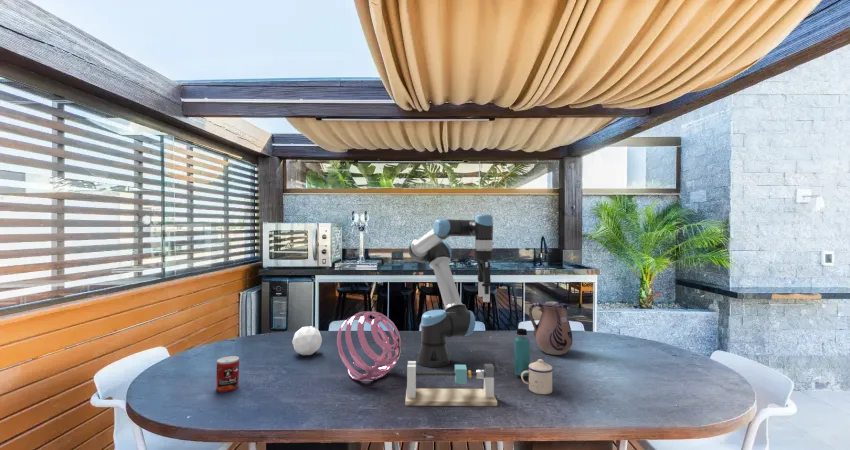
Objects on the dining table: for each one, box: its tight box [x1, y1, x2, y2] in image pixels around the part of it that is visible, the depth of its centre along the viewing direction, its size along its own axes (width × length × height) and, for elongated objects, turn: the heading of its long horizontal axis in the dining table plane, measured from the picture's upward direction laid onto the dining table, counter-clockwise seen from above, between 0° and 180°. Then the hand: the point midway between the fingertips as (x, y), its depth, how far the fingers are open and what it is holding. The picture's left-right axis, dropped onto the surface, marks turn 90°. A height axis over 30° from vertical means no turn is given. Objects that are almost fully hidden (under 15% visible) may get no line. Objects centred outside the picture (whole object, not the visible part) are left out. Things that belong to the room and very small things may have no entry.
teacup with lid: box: [520, 358, 554, 395], centre depth 146 cm, size 12×9×12 cm
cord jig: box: [404, 360, 498, 407], centre depth 137 cm, size 32×11×12 cm, turn 90°
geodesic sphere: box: [291, 325, 323, 356], centre depth 188 cm, size 15×14×14 cm
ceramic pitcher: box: [528, 301, 573, 356], centre depth 193 cm, size 18×21×25 cm
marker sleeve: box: [454, 364, 468, 385], centre depth 137 cm, size 4×5×5 cm
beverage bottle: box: [513, 328, 531, 377], centre depth 159 cm, size 6×7×20 cm
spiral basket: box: [336, 311, 402, 382], centre depth 159 cm, size 28×28×27 cm
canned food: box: [215, 355, 240, 393], centre depth 145 cm, size 8×8×11 cm
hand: (483, 299), depth 164 cm, fingers open, 13 cm apart
